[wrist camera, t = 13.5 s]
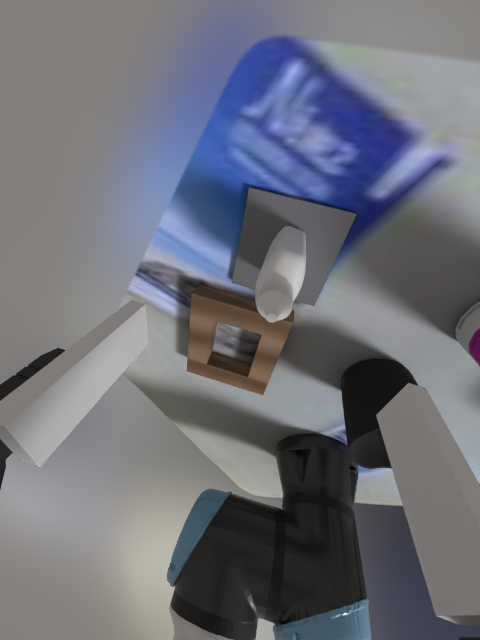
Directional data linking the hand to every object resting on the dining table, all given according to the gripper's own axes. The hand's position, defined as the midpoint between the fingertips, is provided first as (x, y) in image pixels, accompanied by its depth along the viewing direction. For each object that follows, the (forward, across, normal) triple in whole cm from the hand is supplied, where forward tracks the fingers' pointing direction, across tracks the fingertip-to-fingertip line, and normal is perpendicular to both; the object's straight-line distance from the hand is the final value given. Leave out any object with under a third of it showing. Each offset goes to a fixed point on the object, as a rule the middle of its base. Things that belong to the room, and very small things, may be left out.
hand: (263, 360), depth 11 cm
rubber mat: (+16, 0, -1) cm, 16 cm away
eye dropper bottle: (+16, 0, -1) cm, 16 cm away
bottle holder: (+16, +3, +13) cm, 21 cm away
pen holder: (+16, -17, +13) cm, 27 cm away
